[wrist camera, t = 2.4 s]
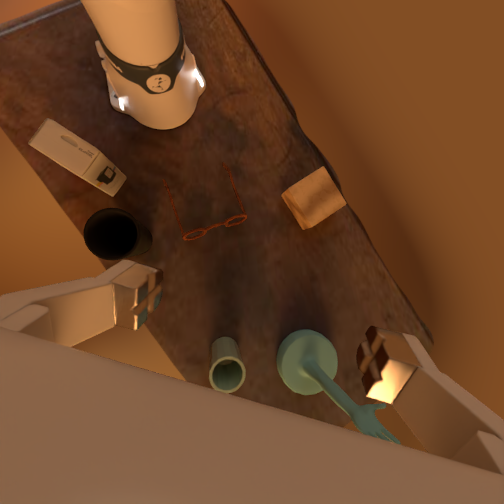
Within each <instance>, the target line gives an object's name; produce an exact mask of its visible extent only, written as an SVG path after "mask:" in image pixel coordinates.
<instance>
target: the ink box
mask: <svg viewBox="0 0 504 504" xmlns="http://www.w3.org/2000/svg"><path fill="white" fill-rule="evenodd" d="M28 144H29V145H31V146H32V147H34V148H35V149H37V150H38V151H40V152H41V153H43V154H44V155H46V156H47V157H49V158H50V159H52V160H54V161H55V162H57V163H58V164H60V165H61V166H63V167H64V168H66V169H68V170H69V171H71V172H72V173H74V174H75V175H77V176H79V177H80V178H82V179H84V180H85V181H87V182H89V183H90V184H92V185H94V186H95V187H97V188H99V189H100V190H102V191H104V192H105V193H107V194H109V195H110V196H112V197H113V196H114V195H115V194H116V193H117V191H118V190H119V189H120V187H121V186H122V185H123V183H124V182H125V180H126V179H127V177H126V176H125V175H124V174H123V173H122V172H121V171H120V170H119V169H118V168H117V167H116V166H115V165H114V164H113V163H112V162H111V161H110V160H109V159H108V158H107V157H106V156H105V155H104V154H103V153H102V152H101V151H99V150H98V149H97V148H95V147H94V146H92V145H91V144H89V143H88V142H86V141H84V140H83V139H81V138H79V137H78V136H77V135H75V134H74V133H72V132H70V131H69V130H67V129H66V128H64V127H63V126H61V125H59V124H58V123H56V122H55V121H53V120H51V119H46V120H45V121H44V123H43V124H42V125H41V126H40V128H39V129H38V130H37V132H36V133H35V134H34V136H33V137H32V139H31V140H30V141H29V143H28Z"/></svg>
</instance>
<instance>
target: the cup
mask: <svg viewBox="0 0 504 504" xmlns="http://www.w3.org/2000/svg"><path fill="white" fill-rule="evenodd" d="M84 240H85V243H86V245H87V247H88V249H89V250H90V251H91V252H92V253H93V254H94V255H96V256H98V257H99V258H102V259H105V260H118V259H123V258H127V257H131V256H135V255H139V254H142V253H145V252H146V251H148V250H149V248H150V247H151V245H152V235H151V233H150V232H149V231H148V230H147V229H146V228H145V227H144V226H143V225H142V224H141V223H140V222H139V221H137V220H136V219H135V218H134V217H133V216H132V215H131V214H129V213H128V212H126V211H124V210H121V209H118V208H106V209H102V210H100V211H98V212H96V213H95V214H93V215H92V216H91V217H90V218H89V219H88V221H87V223H86V225H85V228H84Z"/></svg>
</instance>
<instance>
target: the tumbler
mask: <svg viewBox="0 0 504 504" xmlns="http://www.w3.org/2000/svg"><path fill="white" fill-rule="evenodd" d="M245 373H246V370H245V367H244V363H243V360H242V357H241V353H240V350H239V347H238V345H237V343H236V341H235V340H233V339H232V338H229V337H221V338H219V339H217V340H216V341H214V342H213V344H212V345H211V348H210V361H209V380H210V383H211V385H212V387H213V388H214V389H215V390H217V391H220V392H223V393H231V392H233V391H236V390H237V389H238V388H239V387H240V386H241V385H242V384H243V382H244V379H245Z"/></svg>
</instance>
